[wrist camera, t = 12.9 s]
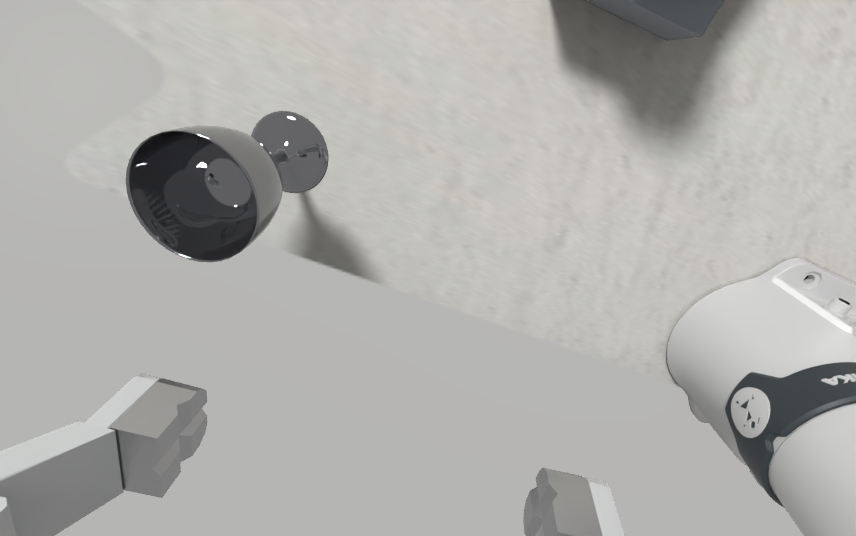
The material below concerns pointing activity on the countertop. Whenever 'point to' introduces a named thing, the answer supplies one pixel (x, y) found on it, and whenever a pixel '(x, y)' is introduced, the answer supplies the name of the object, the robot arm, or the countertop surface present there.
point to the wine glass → (221, 182)
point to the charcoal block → (665, 15)
